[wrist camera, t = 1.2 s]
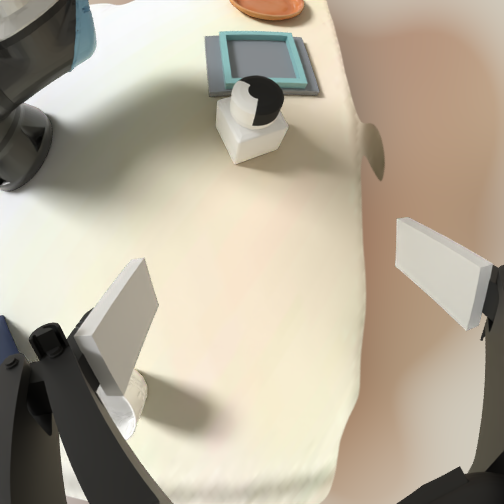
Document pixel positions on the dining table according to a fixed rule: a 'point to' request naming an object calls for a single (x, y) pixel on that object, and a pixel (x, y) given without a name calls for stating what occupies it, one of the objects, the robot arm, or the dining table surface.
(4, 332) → the blue wedge block
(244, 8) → the saucer
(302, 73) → the dock
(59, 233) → the dining table surface
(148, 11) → the dining table surface
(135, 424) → the white cup
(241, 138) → the medicine bottle
